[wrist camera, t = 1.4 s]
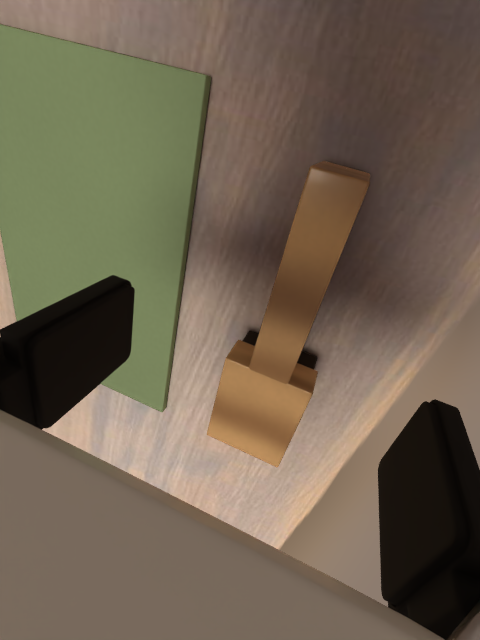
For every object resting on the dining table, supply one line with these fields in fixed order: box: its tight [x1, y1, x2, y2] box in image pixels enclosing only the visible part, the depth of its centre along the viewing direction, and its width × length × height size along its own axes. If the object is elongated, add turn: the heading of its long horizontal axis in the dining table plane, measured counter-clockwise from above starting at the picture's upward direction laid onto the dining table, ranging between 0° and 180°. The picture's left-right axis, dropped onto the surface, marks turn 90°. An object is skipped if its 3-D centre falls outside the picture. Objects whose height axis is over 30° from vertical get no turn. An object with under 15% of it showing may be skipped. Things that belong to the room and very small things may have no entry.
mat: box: [0, 24, 211, 412], centre depth 22 cm, size 22×14×1 cm, turn 167°
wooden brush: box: [207, 161, 370, 467], centre depth 17 cm, size 16×5×4 cm, turn 167°
